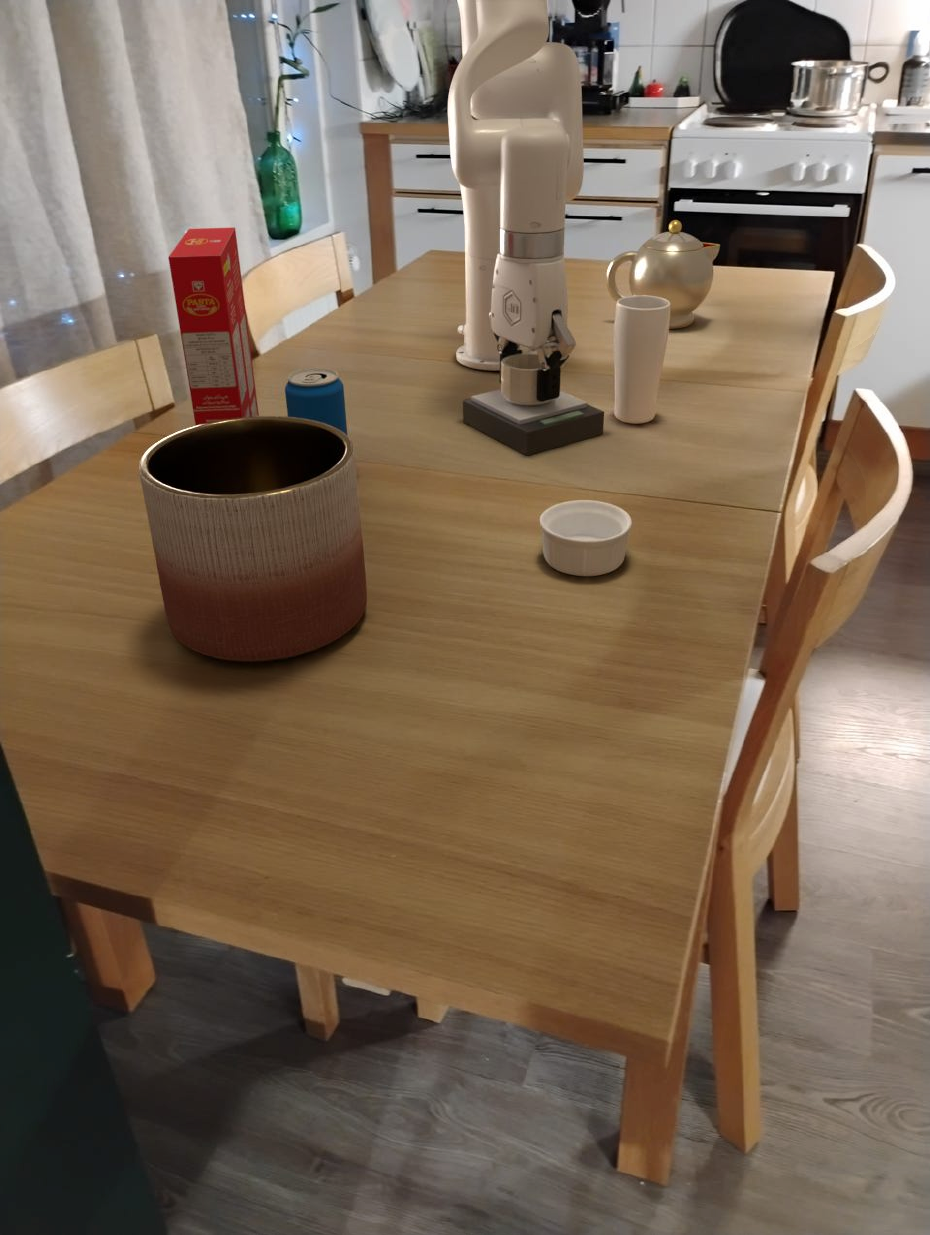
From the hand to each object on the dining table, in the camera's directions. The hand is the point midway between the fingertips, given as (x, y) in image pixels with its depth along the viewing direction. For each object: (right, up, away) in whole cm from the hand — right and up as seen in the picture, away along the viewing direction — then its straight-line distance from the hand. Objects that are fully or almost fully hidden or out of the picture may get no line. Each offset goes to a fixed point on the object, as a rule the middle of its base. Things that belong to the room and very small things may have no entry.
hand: (529, 389), depth 127 cm
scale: (0, -4, +2) cm, 5 cm away
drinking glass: (+14, -3, +5) cm, 15 cm away
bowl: (0, -1, +1) cm, 1 cm away
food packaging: (-36, -9, -4) cm, 38 cm away
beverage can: (-25, -13, -10) cm, 29 cm away
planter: (-26, -29, -36) cm, 53 cm away
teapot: (+24, +21, +42) cm, 53 cm away
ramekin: (+4, -23, -28) cm, 36 cm away
